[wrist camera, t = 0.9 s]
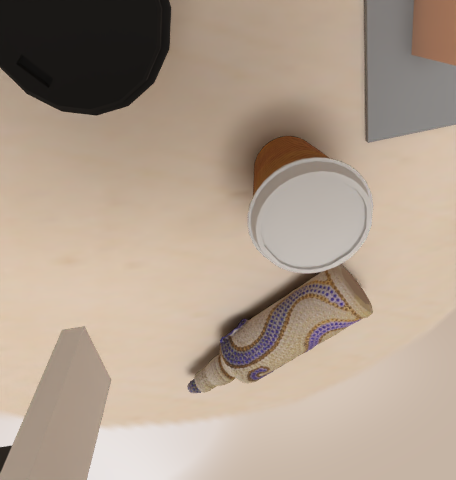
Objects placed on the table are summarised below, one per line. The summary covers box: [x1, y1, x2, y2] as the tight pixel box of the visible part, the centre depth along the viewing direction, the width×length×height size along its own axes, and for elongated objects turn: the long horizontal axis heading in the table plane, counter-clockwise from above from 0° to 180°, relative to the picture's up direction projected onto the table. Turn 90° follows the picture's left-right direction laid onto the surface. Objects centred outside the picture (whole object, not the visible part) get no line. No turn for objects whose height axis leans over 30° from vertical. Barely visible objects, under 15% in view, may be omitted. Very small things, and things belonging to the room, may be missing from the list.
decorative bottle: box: [187, 265, 373, 393], centre depth 47 cm, size 26×8×7 cm, turn 131°
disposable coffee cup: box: [248, 136, 373, 274], centre depth 33 cm, size 10×10×12 cm
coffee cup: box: [0, 0, 171, 115], centre depth 26 cm, size 11×11×12 cm
